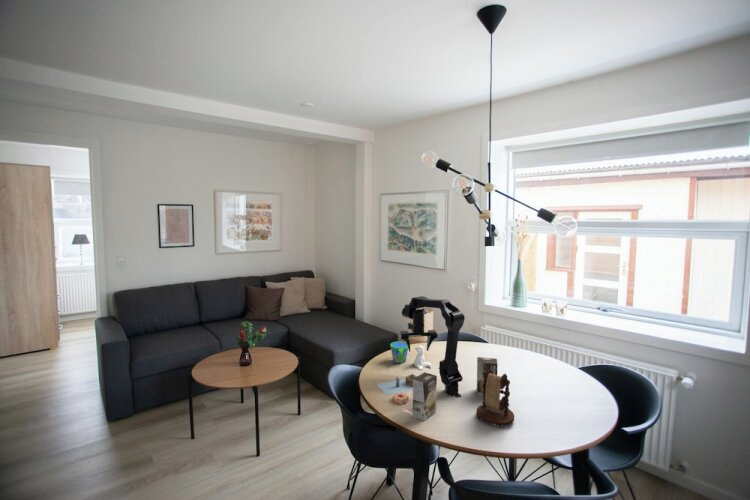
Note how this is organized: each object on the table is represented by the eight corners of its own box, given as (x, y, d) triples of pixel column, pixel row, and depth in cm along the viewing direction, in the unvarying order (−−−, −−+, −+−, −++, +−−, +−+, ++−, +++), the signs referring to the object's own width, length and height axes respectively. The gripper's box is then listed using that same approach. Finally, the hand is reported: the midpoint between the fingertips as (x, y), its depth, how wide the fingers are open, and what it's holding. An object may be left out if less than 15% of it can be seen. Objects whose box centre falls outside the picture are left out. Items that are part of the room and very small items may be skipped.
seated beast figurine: (420, 372, 196) (420, 350, 195) (408, 367, 203) (409, 346, 202) (432, 367, 202) (432, 346, 201) (420, 362, 209) (421, 342, 208)
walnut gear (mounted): (422, 383, 180) (422, 374, 180) (413, 388, 175) (413, 379, 175) (411, 379, 185) (411, 370, 184) (402, 383, 180) (402, 374, 180)
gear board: (428, 389, 177) (428, 387, 177) (386, 397, 169) (386, 395, 169) (416, 378, 188) (416, 377, 188) (376, 386, 180) (376, 384, 180)
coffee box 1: (425, 421, 149) (425, 383, 147) (411, 416, 153) (412, 378, 151) (436, 412, 156) (437, 375, 154) (423, 407, 160) (424, 371, 159)
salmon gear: (410, 404, 162) (410, 398, 162) (397, 407, 160) (397, 400, 159) (404, 397, 168) (404, 391, 168) (390, 400, 166) (390, 393, 166)
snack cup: (409, 367, 202) (409, 349, 201) (390, 367, 203) (390, 349, 202) (408, 356, 218) (408, 340, 217) (390, 356, 218) (390, 339, 217)
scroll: (469, 418, 151) (470, 371, 149) (487, 405, 161) (488, 361, 159) (503, 433, 140) (505, 383, 139) (520, 418, 151) (522, 371, 149)
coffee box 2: (496, 391, 174) (497, 358, 173) (497, 397, 168) (498, 363, 167) (476, 389, 177) (477, 356, 175) (476, 395, 171) (477, 361, 169)
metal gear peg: (399, 387, 177) (399, 377, 176) (396, 387, 176) (396, 378, 176) (398, 385, 178) (398, 376, 178) (395, 386, 178) (395, 377, 177)
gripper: (432, 316, 197) (432, 345, 198) (398, 317, 195) (398, 346, 196) (437, 322, 186) (437, 352, 187) (401, 323, 184) (401, 353, 185)
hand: (418, 350), depth 189 cm, fingers open, 9 cm apart
